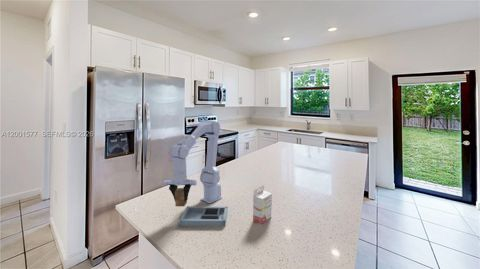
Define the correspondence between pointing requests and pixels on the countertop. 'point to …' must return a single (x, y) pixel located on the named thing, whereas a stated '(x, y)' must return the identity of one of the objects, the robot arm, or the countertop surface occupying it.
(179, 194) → the tan wooden block
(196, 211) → the blue shallow rectangular tray
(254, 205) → the ink cartridge box
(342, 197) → the countertop surface
